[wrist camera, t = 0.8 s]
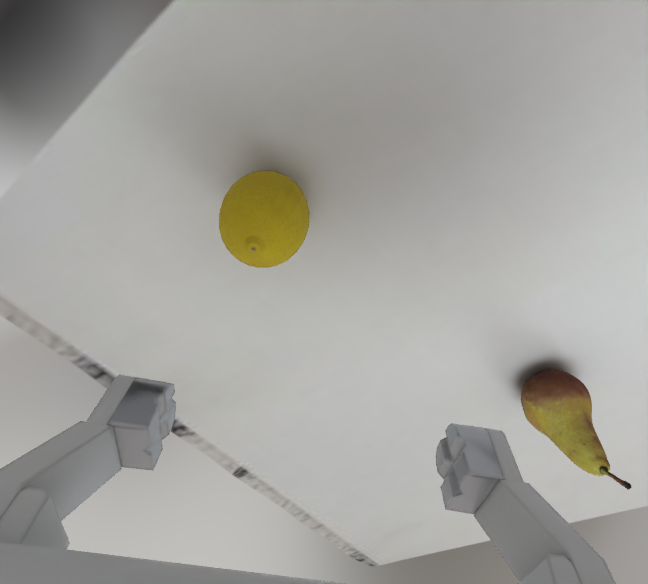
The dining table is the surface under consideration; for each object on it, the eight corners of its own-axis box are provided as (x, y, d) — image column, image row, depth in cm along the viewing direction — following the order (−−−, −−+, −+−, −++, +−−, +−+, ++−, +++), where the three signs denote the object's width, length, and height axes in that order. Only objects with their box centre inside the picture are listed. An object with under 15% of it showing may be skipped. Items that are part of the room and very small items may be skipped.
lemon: (219, 186, 28) (182, 237, 22) (279, 138, 26) (257, 179, 20) (270, 243, 31) (250, 305, 24) (328, 203, 29) (324, 259, 22)
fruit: (498, 382, 38) (553, 509, 28) (552, 348, 35) (633, 476, 26) (534, 408, 40) (596, 536, 30) (587, 377, 37) (675, 507, 27)
